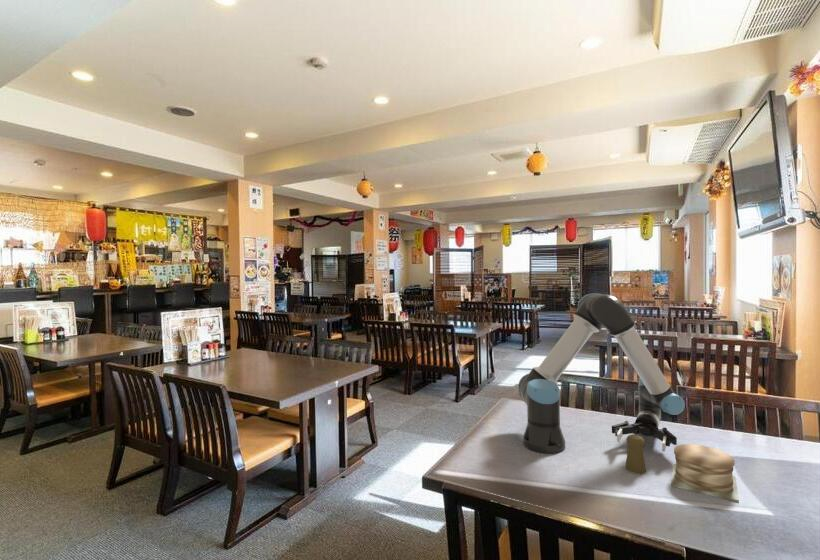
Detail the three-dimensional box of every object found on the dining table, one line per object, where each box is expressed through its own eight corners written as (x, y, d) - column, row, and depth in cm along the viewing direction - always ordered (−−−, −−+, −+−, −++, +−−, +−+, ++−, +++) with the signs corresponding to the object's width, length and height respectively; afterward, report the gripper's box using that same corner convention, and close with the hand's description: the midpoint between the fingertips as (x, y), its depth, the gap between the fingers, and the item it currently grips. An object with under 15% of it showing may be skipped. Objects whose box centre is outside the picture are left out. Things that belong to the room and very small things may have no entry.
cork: (649, 474, 130) (648, 440, 130) (628, 473, 132) (628, 439, 132) (642, 466, 136) (642, 433, 136) (622, 464, 138) (622, 432, 138)
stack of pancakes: (670, 486, 123) (670, 457, 123) (674, 465, 136) (673, 439, 136) (738, 502, 114) (738, 471, 114) (735, 478, 127) (735, 451, 127)
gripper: (686, 440, 150) (684, 462, 133) (611, 426, 164) (600, 445, 147) (686, 419, 150) (684, 439, 133) (611, 408, 164) (600, 424, 147)
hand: (640, 442), depth 140 cm, fingers open, 13 cm apart
